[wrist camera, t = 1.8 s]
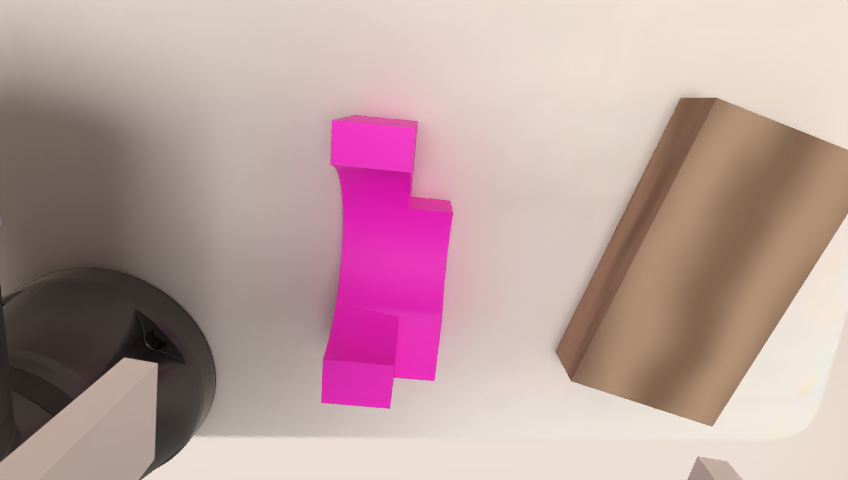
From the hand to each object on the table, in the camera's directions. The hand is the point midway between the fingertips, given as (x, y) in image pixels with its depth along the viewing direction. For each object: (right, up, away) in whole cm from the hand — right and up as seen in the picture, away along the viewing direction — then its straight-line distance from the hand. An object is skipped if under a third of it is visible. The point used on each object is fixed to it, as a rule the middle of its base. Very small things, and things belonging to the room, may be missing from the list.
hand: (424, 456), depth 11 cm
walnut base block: (+17, +4, +20) cm, 26 cm away
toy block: (-2, +5, +19) cm, 20 cm away
